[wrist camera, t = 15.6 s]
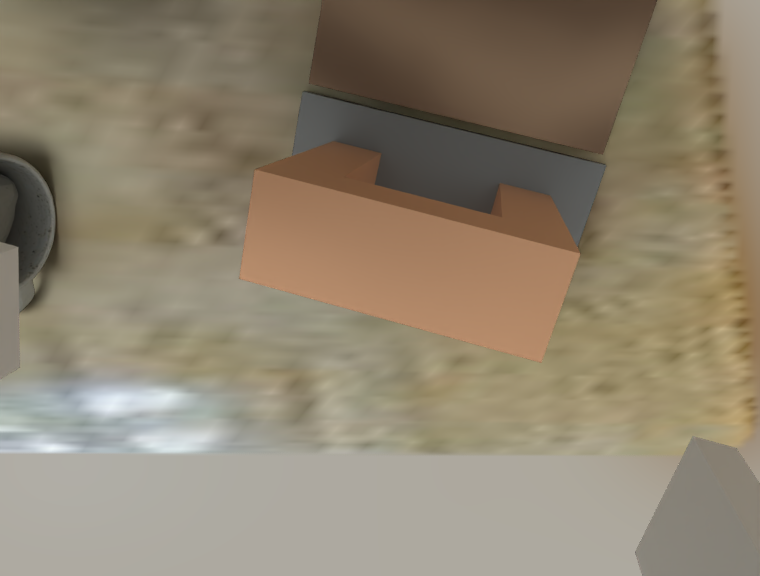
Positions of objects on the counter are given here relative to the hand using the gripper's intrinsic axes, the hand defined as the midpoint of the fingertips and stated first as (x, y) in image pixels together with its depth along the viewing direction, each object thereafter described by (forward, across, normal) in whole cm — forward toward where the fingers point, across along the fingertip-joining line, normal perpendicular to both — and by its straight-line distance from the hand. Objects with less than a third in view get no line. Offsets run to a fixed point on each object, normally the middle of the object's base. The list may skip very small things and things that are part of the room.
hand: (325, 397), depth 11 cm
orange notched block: (+20, 0, 0) cm, 20 cm away
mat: (+20, 0, 0) cm, 20 cm away
